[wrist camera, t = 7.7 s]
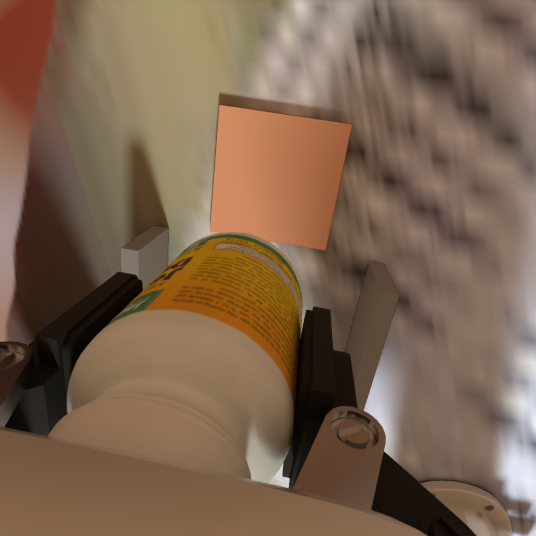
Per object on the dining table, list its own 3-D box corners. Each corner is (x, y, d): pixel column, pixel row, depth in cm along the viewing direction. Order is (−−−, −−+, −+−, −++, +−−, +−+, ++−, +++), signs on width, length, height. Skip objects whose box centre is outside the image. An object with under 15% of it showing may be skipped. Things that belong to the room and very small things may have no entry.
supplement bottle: (263, 368, 16) (197, 674, 7) (154, 309, 16) (-60, 559, 7) (330, 271, 14) (353, 535, 5) (206, 200, 14) (-5, 355, 5)
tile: (351, 124, 25) (352, 124, 24) (325, 247, 28) (325, 250, 28) (221, 105, 25) (219, 104, 25) (211, 228, 29) (209, 231, 28)
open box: (384, 264, 28) (399, 296, 23) (342, 412, 34) (346, 463, 29) (154, 225, 29) (121, 247, 24) (152, 375, 35) (125, 418, 30)
